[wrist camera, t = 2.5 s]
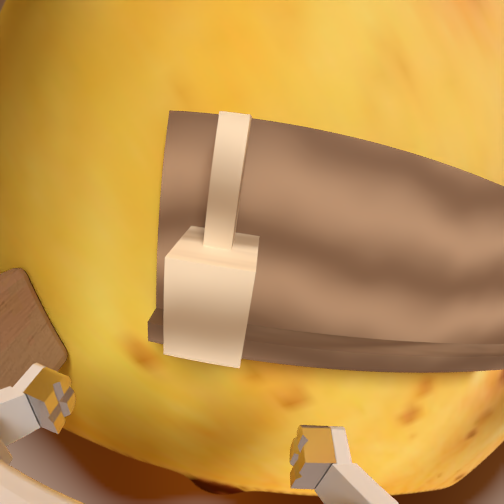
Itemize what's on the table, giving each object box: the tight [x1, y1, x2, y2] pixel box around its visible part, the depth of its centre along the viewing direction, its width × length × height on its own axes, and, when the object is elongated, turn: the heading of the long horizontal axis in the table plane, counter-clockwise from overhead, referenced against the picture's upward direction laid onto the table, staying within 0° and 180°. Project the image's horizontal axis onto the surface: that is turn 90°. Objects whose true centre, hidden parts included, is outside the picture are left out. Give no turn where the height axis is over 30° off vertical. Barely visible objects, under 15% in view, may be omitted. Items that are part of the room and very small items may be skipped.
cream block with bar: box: [163, 111, 260, 368], centre depth 16 cm, size 13×4×5 cm, turn 172°
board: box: [148, 111, 504, 373], centre depth 18 cm, size 14×30×4 cm, turn 82°
